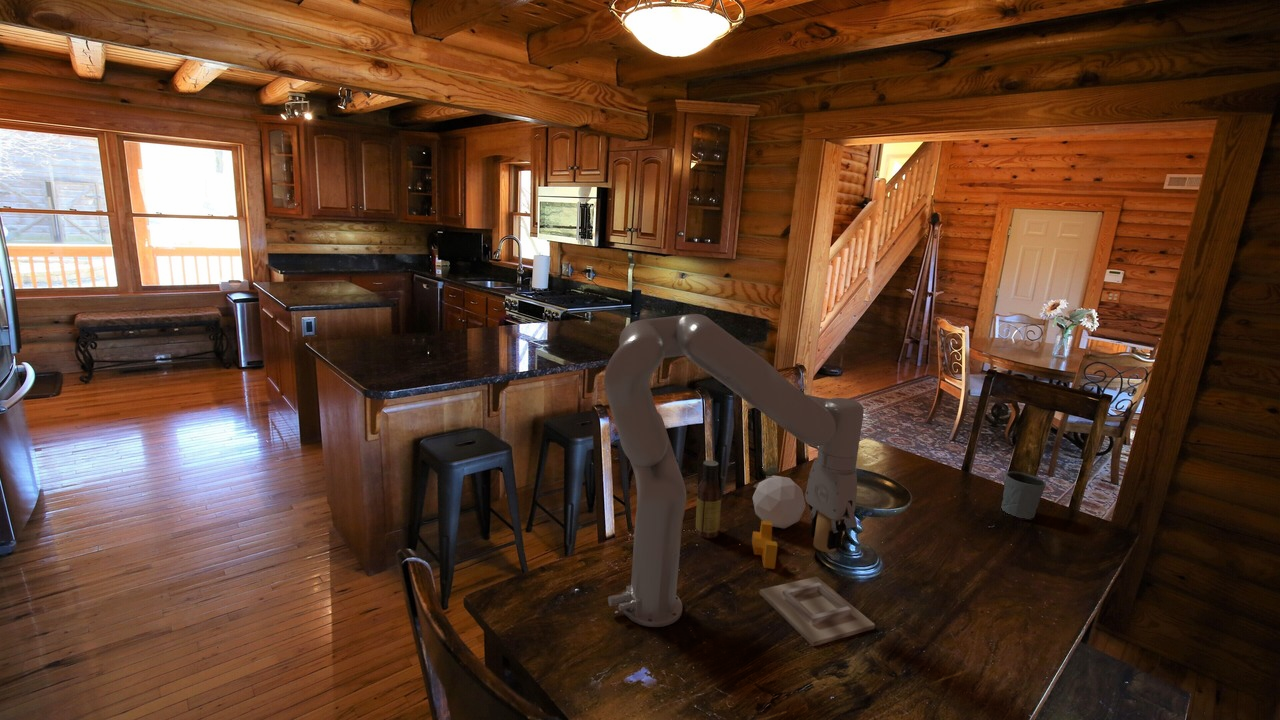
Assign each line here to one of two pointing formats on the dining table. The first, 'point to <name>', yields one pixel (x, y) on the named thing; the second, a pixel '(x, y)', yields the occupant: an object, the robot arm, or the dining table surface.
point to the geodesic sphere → (778, 501)
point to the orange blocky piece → (765, 545)
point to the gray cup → (1022, 494)
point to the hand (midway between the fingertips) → (825, 540)
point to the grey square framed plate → (816, 610)
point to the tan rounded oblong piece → (822, 532)
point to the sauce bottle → (708, 501)
